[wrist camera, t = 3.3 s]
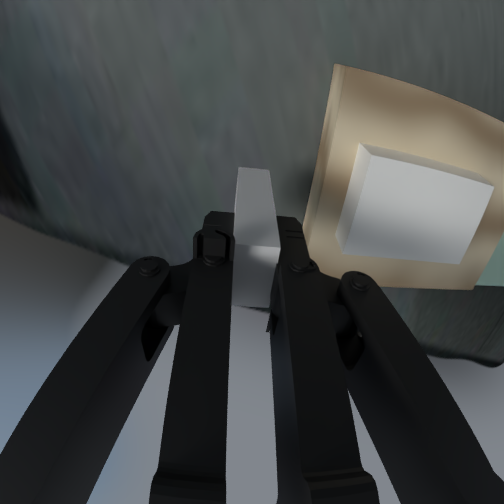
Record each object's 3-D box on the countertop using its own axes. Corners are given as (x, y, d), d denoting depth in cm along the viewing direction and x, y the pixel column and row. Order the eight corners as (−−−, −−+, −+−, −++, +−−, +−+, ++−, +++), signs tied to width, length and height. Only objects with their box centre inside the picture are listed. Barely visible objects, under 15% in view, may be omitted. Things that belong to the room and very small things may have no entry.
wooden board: (334, 63, 15) (346, 66, 13) (518, 130, 17) (538, 142, 15) (295, 259, 24) (299, 281, 22) (460, 271, 25) (472, 290, 23)
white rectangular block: (335, 234, 19) (342, 254, 18) (359, 142, 16) (371, 154, 14) (447, 247, 20) (459, 264, 18) (477, 172, 16) (494, 186, 15)
